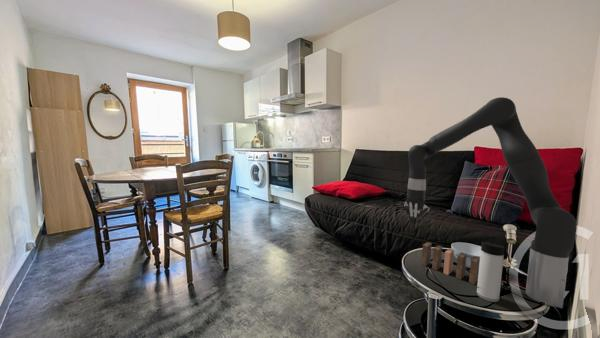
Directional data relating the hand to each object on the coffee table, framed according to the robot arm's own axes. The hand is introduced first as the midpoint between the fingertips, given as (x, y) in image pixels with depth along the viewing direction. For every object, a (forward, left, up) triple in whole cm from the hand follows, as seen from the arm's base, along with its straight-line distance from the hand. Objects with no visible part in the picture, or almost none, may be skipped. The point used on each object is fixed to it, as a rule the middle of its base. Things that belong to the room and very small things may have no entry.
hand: (413, 224), depth 110 cm
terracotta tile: (-16, 0, -17) cm, 23 cm away
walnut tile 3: (-20, 0, -17) cm, 26 cm away
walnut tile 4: (-25, 0, -17) cm, 30 cm away
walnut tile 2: (-11, 0, -17) cm, 20 cm away
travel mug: (-31, +8, -17) cm, 36 cm away
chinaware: (-20, -15, -17) cm, 30 cm away
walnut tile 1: (-7, 0, -17) cm, 18 cm away
